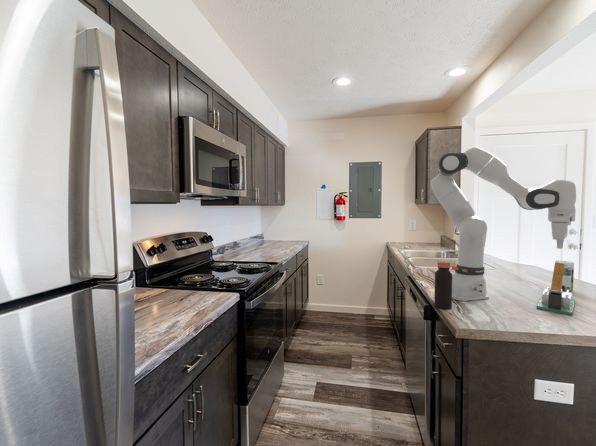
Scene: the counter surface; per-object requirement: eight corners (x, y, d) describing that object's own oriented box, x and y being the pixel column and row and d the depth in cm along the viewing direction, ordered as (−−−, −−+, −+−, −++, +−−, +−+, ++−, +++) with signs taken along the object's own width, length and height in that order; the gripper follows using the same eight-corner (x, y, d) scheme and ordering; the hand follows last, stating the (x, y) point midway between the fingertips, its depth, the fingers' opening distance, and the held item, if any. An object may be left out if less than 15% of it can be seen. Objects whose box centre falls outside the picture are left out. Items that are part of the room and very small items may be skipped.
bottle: (444, 310, 121) (445, 264, 120) (430, 305, 128) (431, 261, 126) (455, 308, 124) (456, 262, 123) (441, 303, 130) (442, 259, 129)
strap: (561, 295, 119) (561, 293, 118) (549, 293, 122) (549, 291, 121) (565, 265, 128) (565, 263, 128) (553, 264, 131) (553, 262, 131)
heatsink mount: (572, 315, 115) (573, 298, 114) (536, 308, 123) (537, 292, 122) (575, 301, 131) (575, 286, 130) (543, 296, 138) (544, 281, 138)
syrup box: (559, 289, 148) (560, 262, 147) (553, 286, 154) (555, 259, 153) (573, 290, 146) (574, 262, 145) (567, 287, 152) (568, 260, 151)
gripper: (554, 216, 136) (552, 245, 137) (549, 217, 121) (547, 250, 122) (572, 216, 131) (570, 246, 132) (569, 218, 117) (568, 251, 118)
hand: (559, 248), depth 127 cm, fingers closed
